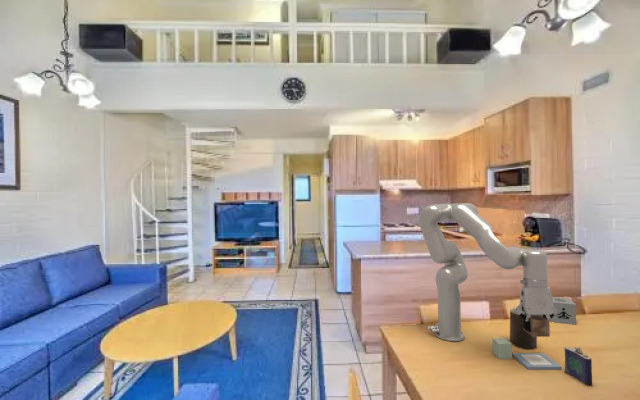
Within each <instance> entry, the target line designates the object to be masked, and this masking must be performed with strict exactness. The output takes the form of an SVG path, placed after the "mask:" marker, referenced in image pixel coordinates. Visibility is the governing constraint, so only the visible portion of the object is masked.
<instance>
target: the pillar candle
mask: <svg viewBox="0 0 640 400" xmlns="http://www.w3.org/2000/svg"><path fill="white" fill-rule="evenodd" d="M515 308H516V307H515ZM515 308H510V310H509V342H510V343H512V346H515V347H517V348H521V349H525V350H535V349H537V346H538V345H537V343H538V342H537V341H538V340H537V339H538V337H533V336H531V335H530V334H528V333H527V332H526V331H524V330H523V319H522V318H521V317H520V316H519V315H518V314H517V313H516V312H515V311H514V309H515ZM523 312H524V311H522V310H521V313H522V314H523Z"/></svg>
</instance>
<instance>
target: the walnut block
mask: <svg viewBox="0 0 640 400" xmlns="http://www.w3.org/2000/svg"><path fill="white" fill-rule="evenodd" d="M529 321H530V329H531V332H528V331H526V330H525V329H524V327H523V330H524V331H526V332H527V333H528V334H530V335H531V336H533V337H537V338H538V337H541V338H542V337H543V338H544V337H545V338H546V337H547V338H548V337H551V335H550V332H551V331H550V327H551V325H550V324H551V323H550V321H549V320H548V319H546V318H544V317H543V316H542V315H531V316H530V319H529Z"/></svg>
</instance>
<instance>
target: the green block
mask: <svg viewBox="0 0 640 400" xmlns="http://www.w3.org/2000/svg"><path fill="white" fill-rule="evenodd" d="M491 346H492V347H491V348H492V349H491V351H492V354H493V355H494V356H495V357H496V358H497V359H498V360H512V359H513V356H512V353H513V348H512V347H513V344H512V343H511V342H510V340H508V339H507V338H505V337H492V338H491Z"/></svg>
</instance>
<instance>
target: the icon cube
mask: <svg viewBox="0 0 640 400" xmlns="http://www.w3.org/2000/svg"><path fill="white" fill-rule="evenodd" d="M552 298H553V306H554V307H555V308H556V309H557V310H558V312H557V313H556V314H555V315H554V317H553V318H552V319H551V321H550V322H551V323H552V322H554V324H555V323H556V324H564V325H573V326H576V325H577V304H576V303H575V302H574V301H572V300H571V299H570V298H569V297H559V296H552Z"/></svg>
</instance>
